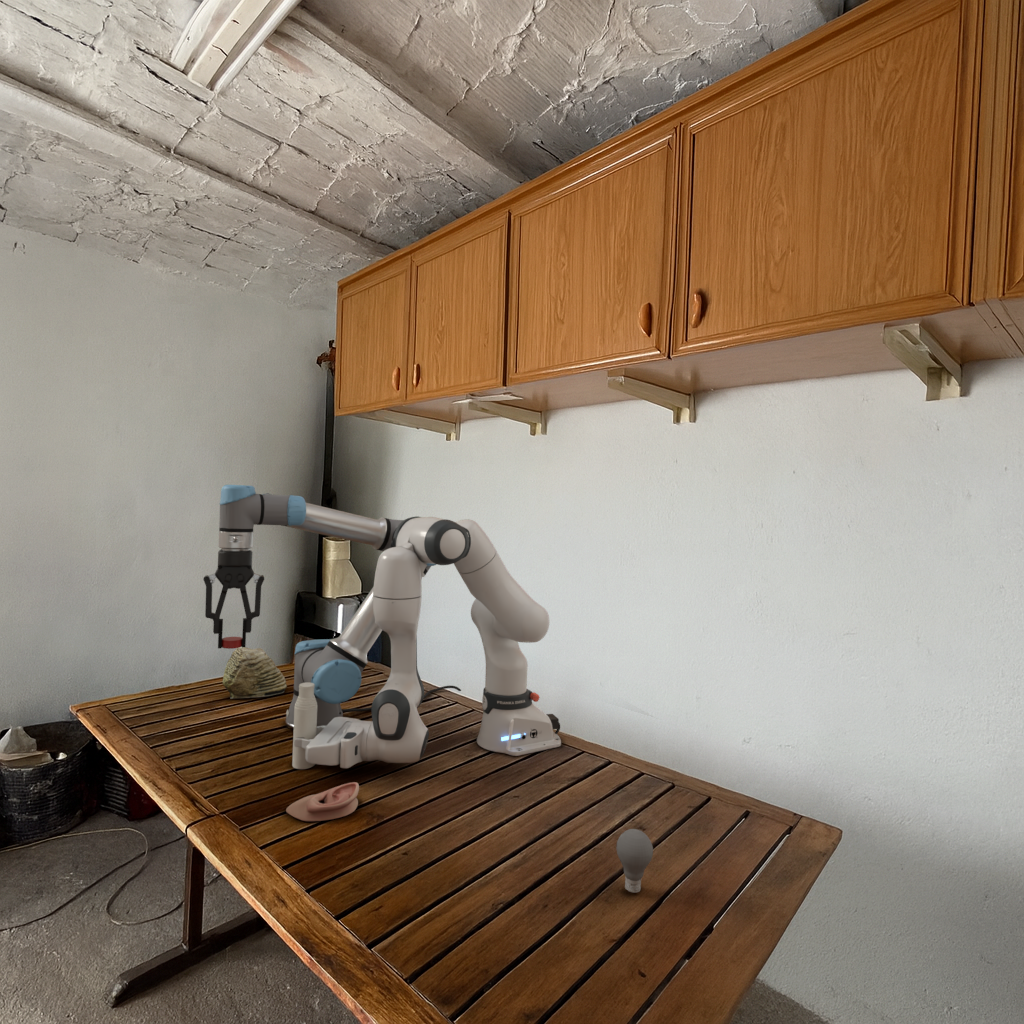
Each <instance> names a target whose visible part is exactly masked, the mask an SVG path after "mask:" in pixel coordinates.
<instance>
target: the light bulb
mask: <svg viewBox="0 0 1024 1024" xmlns="http://www.w3.org/2000/svg"><path fill="white" fill-rule="evenodd" d="M615 849H616V854H617V857H618V859H619V861H620V863H621V865H622V867H623V873H624V874H623V875H624V876H625V878H624V888H625V890H627V891H628V892H630V893H634V894H635V893H639V892H640V891H641V889H642V887H641V886H642V879H643V877H644V875H645V871H646V868H647V867H648V866H649V864H650V863H651V861H652V859H653V855H654V847H653V843H652V841H651V838H649V836H648V835H647V834H646V833H645V832H643V831H642V830H641V829H636V828H629V829H627V830H625V831H623V832H622V833H621V834H620V835H619V837H618V839H617V841H616V847H615Z"/></svg>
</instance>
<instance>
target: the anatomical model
mask: <svg viewBox="0 0 1024 1024" xmlns="http://www.w3.org/2000/svg"><path fill="white" fill-rule="evenodd" d="M359 792H360V785H359V783H358V782H355V781H352V782H347V783H344V784H341V785H338V786H335V787H332V788H329V789H327V790H324V791H321V792H319V793H316V794H311V795H307V796H304V797H302V798H300V799H298V800H296V801H294V802H293V803H291V804H289V806H287V807H286V809H285V812H286V813H287V814H288V815H289V816H291V817H293V818H295V819H297V820H300V821H303V822H321V821H329V820H334V819H339V818H342V817H346V816H348V815H351V814H353V812H355V811H356V809H357V808H358V805H359V799H358V798H357V796H358V795H359Z"/></svg>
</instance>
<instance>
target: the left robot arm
mask: <svg viewBox="0 0 1024 1024" xmlns="http://www.w3.org/2000/svg"><path fill="white" fill-rule="evenodd" d="M219 499H220V501H219V523H218V524H219V525H218V526H219V528H218V548H219V550H218V553H217V567H216V570H215V572H214V573H211V574H205V575H204V577H203V582H204V585H205V615H204V616H205V618H206V619H211V620H212V621H213V625H212V626H213V628H212V631H213V634H214V635H218V637H217V649H223V648H222V638H223V628H224V627H223V625H224V618H220V617H221V614H222V611H223V607H224V603H225V600H226V597H227V592H228V591H229V590H231V589H239V591H240V595H241V600H242V605H243V609H244V614H245V617H244V618H242V636H241V638H242V647H246V645H247V644H246V643H247V641H246V640H247V634H249V633H250V634H251V632H252V624H253V623H252V622H253V621H252V620H253V619H255V618H258V617H260V615H261V602H262V601H261V600H262V586H263V584H264V582H265V575H264V574H257V573H255V571H254V569H253V551H252V550H251V549H253V547H254V526H256V525H257V526H261V525H263V526H282V527H287V528H292V529H296V530H301V531H305V532H310V533H314V534H319V535H323V536H327V537H332V538H336V539H342V540H346V541H351V542H355V543H360V544H365V545H369V546H371V547H372V549H373V550H375V551H380V552H383V551H385V550H387V549H389V548H391V542H392V540H393V537H394V533H395V531H396V529H397V527H398V525H399V524H400V523H401V522H402V521H404V520H405V519H394V518H393V519H392V518H387V517H382V516H381V517H379V518H378V519H376V518H372V517H369V516H364V515H359V514H355V513H351V512H346V511H343V510H338V509H334V508H330V507H325V506H322V505H318V504H314V503H309V502H306V500H305V498H304V497H303V496H301V495H293V494H272V493H267V492H266V493H257V492H256V487H255V486H253V485H245V484H244V485H242V484H224V485H223V486H222V487H221V490H220V498H219ZM392 547H393V546H392ZM436 565H437V564H431V563H428V564H427V566H426V568H425V570H424V572H423V575H422V578H425V577H426V575H427V573H428V572H429V570H430V569H431V567H434V566H436ZM215 579H217V580H218V581H219V583H220V584H221V585H222V588H221V592H220V596H219V598H218V602H217V605H216V609H215V612H213V584H214V583H215ZM252 579H253V583H254V584H255V596H254V610H253V611H252V610H251V606H250V605H251V604H250V601H249V600H250V599H249V595H248V591H247V584H248V583H249V582H250V581H251V580H252ZM373 590H374V586H372V588H371V589H370V591H369V593H368V594H367V595H366V597H365V598H364V599H363V601H362V603H361V604H360V606H359V607H358V609H357V610H356V611H355V613H354V614H353V616H352V617H351V619H350V620H349V622H348V623H347V625H346V626H345V628H344V629H343V631H342V632H341V633H340V635H339V636H338V637H335V638H329V639H328V638H326V639H325V638H324V639H307V640H302V641H299V642H297V644H295V650H294V655H293V656H294V672H293V673H294V674H293V695H292V696H293V697H292V699H291V702H290V704H289V708H288V709H286V712H285V714H286V715H285V726H286V728H287V729H289V730H291V731H294V706H295V703H296V701H297V698H298V696H299V684H301V683H306V682H310V683H314V684H315V687H314V695H315V698H316V702H317V727H318V726H323V725H324V726H327V725H328V724H329V723H330V721H331V720H332V719H333V718H335V717H344V714H343V713H350V712H353V713H354V712H355V713H356V712H369V711H371V708H372V706H371V707H364V708H342V706H341V704H342V703H345V702H347V701H349V700H351V699H352V698H354V696H355V695H356V694H357V693H358V691H359V689H360V688H361V685H362V681H363V680H362V673H363V671H364V669H365V668H366V666H367V665H368V662H369V661H368V656H367V655H368V653H369V651H370V650H371V648H372V647H373V645H374V644H375V642H376V641H377V639H378V637H379V636H380V635H381V633H382V631H383V630H382V629H381V628H380V627H379V626H378V625H377V624H376V622H375V617H374V610H373ZM446 689H455V690H457V692H461V691H462V689H461V688H460V687H458V686H456V685H444V686H440V687H437V688H433V689H430V690H428V691H427V692H426V693H424V698H423V700H424V699H426V698H427V697H428V695H430V694H432V693H435V692H438V691H442V690H446Z"/></svg>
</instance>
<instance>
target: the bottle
mask: <svg viewBox="0 0 1024 1024" xmlns="http://www.w3.org/2000/svg"><path fill="white" fill-rule="evenodd" d="M314 687H315V684H314V683H310V682H306V683H301V684H299V696H298V698H297V701H296V703H295V706H294V730H292V731H293V736H292V759H291V761H292V762H291V766H292V768H293V769H296V770H307V769H310V768H313V767H314V766H316V764H312V763H309V762H307V761H306V760H305V753H306V749H304V748H302V747H295V745H294V742H295V739H296V738H298V737H304V739H307V740H310V739H314V738H315V737H316V736H317V735H316V730H317V702H316V698H315V695H314Z"/></svg>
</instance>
